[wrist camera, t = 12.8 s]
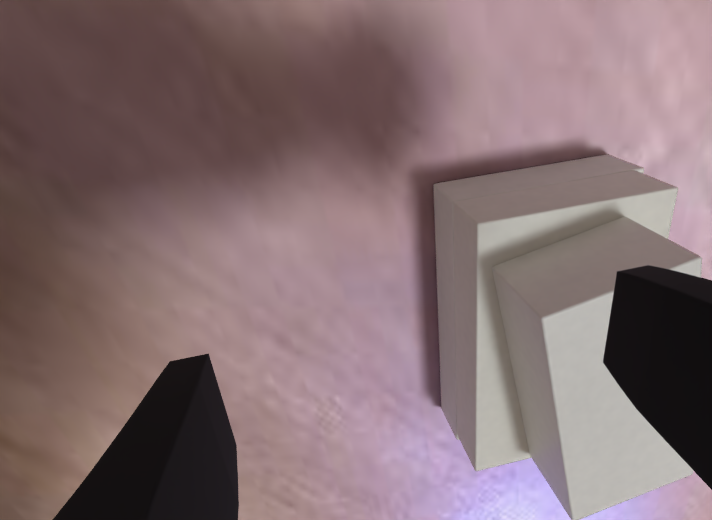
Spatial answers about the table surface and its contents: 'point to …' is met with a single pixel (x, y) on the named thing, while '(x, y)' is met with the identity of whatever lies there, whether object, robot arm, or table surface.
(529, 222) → the cream stack
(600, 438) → the cream rectangular block
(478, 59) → the table surface
